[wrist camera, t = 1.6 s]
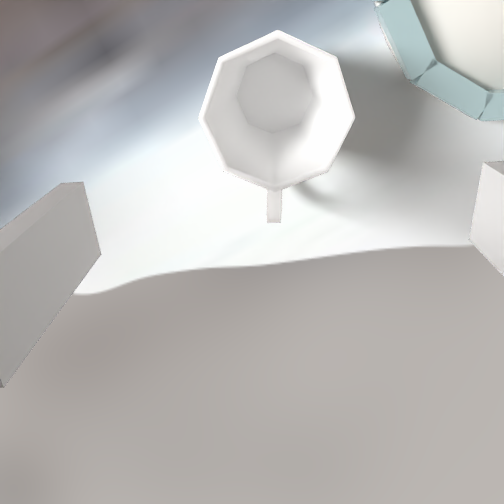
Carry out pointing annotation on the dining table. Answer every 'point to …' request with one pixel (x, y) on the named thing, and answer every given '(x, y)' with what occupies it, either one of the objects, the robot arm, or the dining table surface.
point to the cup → (276, 114)
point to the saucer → (450, 50)
